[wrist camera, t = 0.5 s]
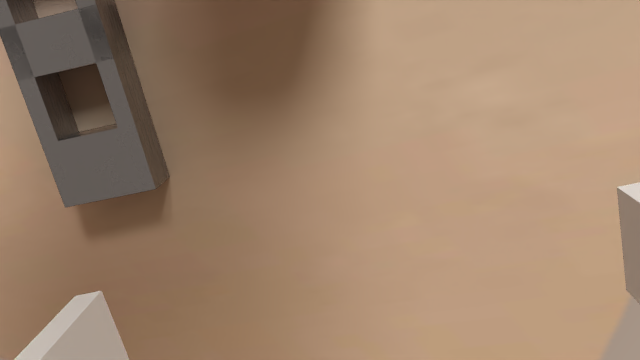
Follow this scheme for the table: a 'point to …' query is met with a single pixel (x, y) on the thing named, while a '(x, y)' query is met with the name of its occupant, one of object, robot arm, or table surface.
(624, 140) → the table surface
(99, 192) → the rail
